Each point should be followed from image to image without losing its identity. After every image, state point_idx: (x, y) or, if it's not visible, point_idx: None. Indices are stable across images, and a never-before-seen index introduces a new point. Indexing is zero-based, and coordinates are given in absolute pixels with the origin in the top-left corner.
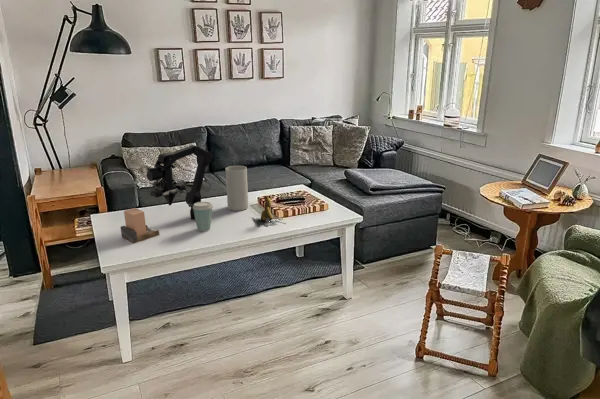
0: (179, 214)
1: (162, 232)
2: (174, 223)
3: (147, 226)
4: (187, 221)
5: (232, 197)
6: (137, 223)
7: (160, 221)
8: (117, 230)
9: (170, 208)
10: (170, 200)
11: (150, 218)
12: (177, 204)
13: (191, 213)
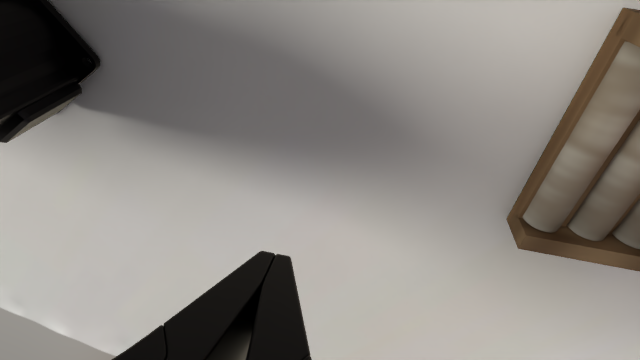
0: (128, 219)
1: (529, 41)
2: (271, 121)
3: (523, 229)
4: (153, 50)
5: None
6: None
7: (312, 240)
8: (593, 350)
9: (126, 317)
10: (262, 341)
11: (313, 316)
12: (63, 321)
13: (42, 89)
